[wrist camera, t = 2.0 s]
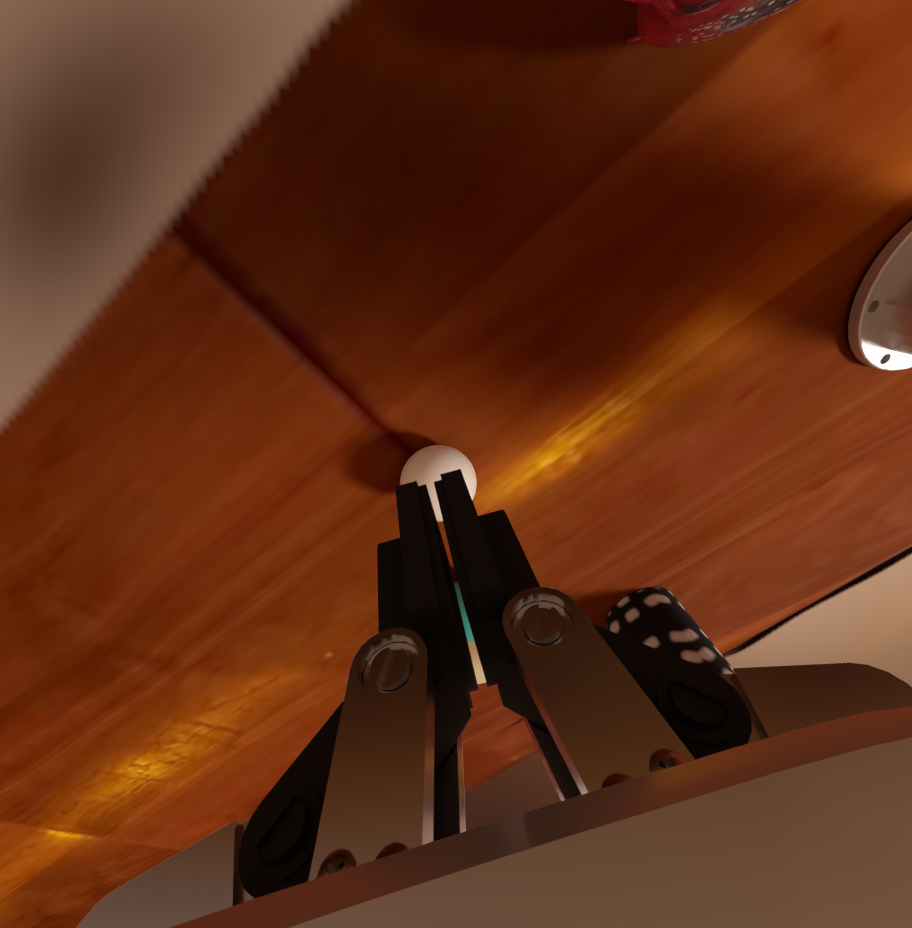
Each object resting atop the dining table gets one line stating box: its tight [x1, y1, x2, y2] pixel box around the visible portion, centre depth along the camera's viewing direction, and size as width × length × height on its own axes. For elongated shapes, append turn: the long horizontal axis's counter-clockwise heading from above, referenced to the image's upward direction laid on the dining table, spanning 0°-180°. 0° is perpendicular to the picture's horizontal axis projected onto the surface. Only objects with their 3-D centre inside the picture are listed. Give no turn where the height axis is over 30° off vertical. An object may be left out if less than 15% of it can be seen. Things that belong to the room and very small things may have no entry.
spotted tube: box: [606, 587, 733, 675], centre depth 38 cm, size 8×8×20 cm
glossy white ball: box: [400, 445, 477, 522], centre depth 30 cm, size 6×6×6 cm
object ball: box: [454, 581, 475, 642], centre depth 37 cm, size 6×6×6 cm
